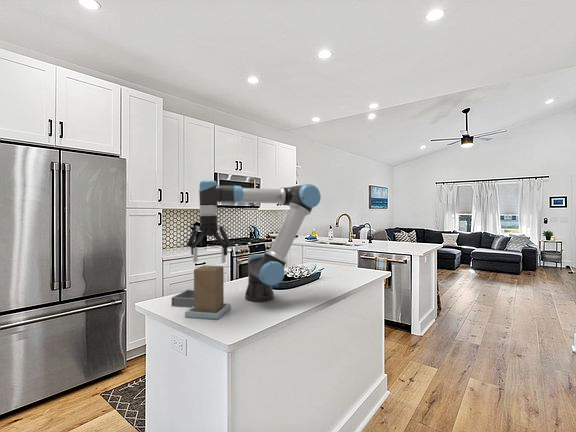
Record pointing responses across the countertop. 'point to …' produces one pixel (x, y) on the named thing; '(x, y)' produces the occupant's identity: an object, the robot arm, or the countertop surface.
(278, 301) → the countertop surface
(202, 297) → the wooden block
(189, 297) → the bay
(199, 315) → the tray
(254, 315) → the countertop surface
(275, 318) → the countertop surface
